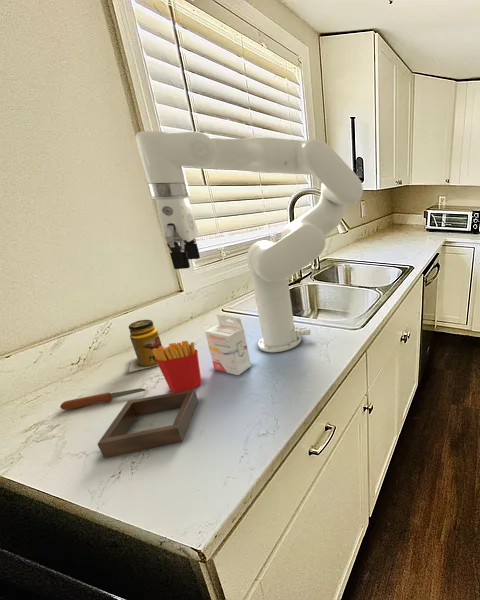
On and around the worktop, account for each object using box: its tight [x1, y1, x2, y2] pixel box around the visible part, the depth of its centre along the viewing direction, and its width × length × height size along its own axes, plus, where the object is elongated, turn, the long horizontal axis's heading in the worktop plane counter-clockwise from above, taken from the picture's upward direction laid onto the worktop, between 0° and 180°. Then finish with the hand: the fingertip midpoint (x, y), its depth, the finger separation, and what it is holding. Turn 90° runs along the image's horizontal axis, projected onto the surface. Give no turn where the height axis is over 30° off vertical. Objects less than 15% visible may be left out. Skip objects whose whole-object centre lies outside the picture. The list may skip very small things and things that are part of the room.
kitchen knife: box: [59, 387, 146, 411], centre depth 75 cm, size 16×1×2 cm, turn 112°
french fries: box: [152, 340, 202, 393], centre depth 79 cm, size 8×4×12 cm, turn 115°
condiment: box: [128, 319, 163, 373], centre depth 89 cm, size 7×8×12 cm
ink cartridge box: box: [204, 313, 252, 376], centre depth 85 cm, size 9×5×15 cm, turn 71°
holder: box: [97, 388, 199, 459], centre depth 67 cm, size 13×13×4 cm
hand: (188, 263), depth 81 cm, fingers open, 9 cm apart
